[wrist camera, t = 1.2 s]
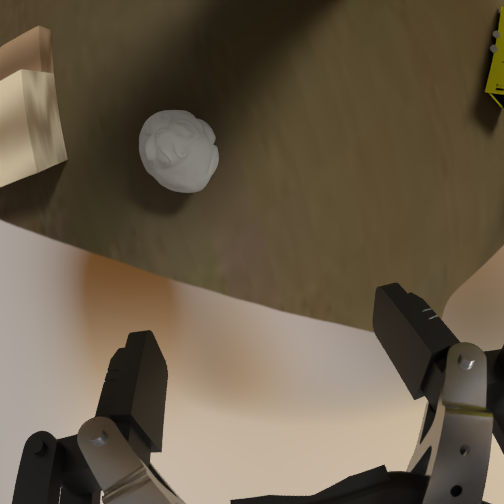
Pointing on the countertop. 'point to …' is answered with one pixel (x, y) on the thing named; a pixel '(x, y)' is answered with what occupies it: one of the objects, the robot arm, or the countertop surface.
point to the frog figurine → (178, 150)
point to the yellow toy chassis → (497, 65)
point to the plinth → (28, 107)
